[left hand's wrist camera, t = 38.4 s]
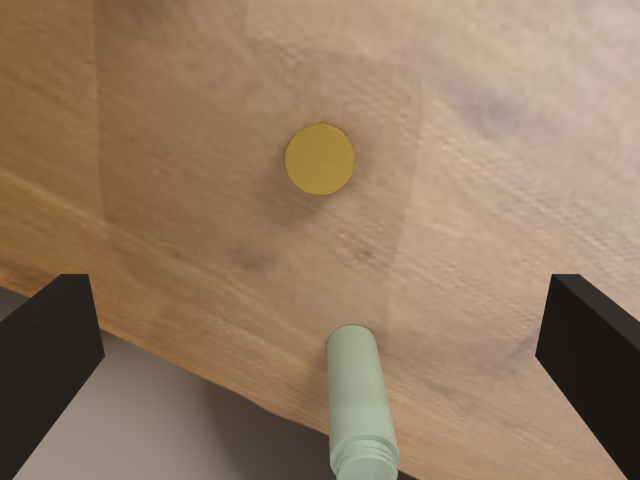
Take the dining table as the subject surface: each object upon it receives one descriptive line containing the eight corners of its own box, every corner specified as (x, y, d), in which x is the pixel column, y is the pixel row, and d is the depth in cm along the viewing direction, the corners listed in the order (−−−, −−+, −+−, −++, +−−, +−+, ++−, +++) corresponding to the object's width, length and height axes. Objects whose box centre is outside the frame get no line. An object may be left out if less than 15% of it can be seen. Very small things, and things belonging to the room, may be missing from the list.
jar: (385, 338, 44) (418, 469, 30) (359, 373, 46) (377, 515, 31) (343, 316, 43) (355, 440, 29) (318, 353, 45) (316, 488, 30)
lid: (279, 181, 38) (278, 186, 37) (294, 115, 36) (292, 117, 35) (343, 196, 39) (345, 202, 37) (361, 132, 37) (363, 134, 35)
